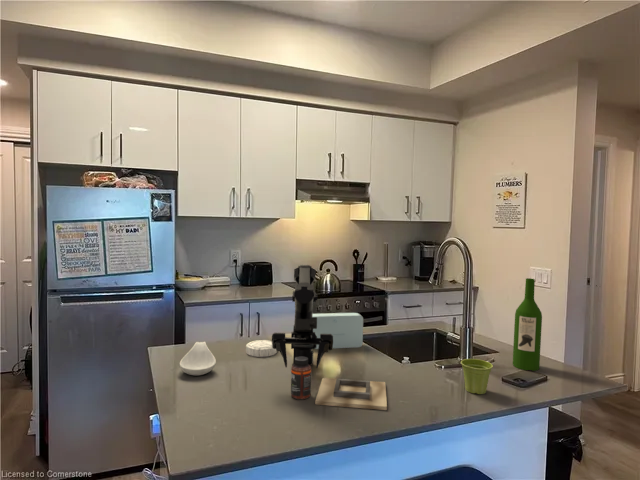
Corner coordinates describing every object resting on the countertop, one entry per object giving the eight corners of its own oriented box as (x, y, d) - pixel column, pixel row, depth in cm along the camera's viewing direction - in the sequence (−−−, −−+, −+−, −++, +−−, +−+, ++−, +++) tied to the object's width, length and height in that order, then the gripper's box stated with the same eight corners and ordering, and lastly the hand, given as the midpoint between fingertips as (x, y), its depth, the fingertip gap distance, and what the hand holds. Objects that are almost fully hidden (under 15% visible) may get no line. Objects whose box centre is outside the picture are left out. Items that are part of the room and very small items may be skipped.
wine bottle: (513, 368, 155) (517, 279, 154) (512, 361, 164) (516, 276, 162) (540, 372, 152) (545, 281, 150) (538, 364, 160) (542, 278, 159)
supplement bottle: (313, 393, 128) (314, 356, 128) (306, 401, 123) (307, 362, 122) (295, 390, 130) (296, 353, 130) (287, 398, 125) (288, 359, 124)
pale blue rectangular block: (307, 350, 171) (308, 317, 170) (304, 345, 176) (305, 313, 176) (363, 347, 176) (364, 315, 175) (358, 343, 182) (359, 312, 181)
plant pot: (476, 399, 128) (477, 370, 127) (453, 387, 136) (454, 360, 136) (498, 393, 132) (499, 366, 131) (474, 383, 140) (475, 357, 140)
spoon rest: (215, 378, 139) (215, 356, 139) (177, 380, 136) (177, 358, 136) (216, 355, 162) (216, 336, 162) (183, 356, 159) (184, 337, 159)
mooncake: (266, 359, 159) (266, 349, 159) (239, 354, 164) (239, 345, 164) (282, 350, 170) (282, 341, 170) (257, 346, 175) (257, 337, 175)
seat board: (315, 404, 121) (315, 395, 121) (322, 380, 139) (322, 373, 139) (386, 410, 119) (387, 401, 118) (385, 385, 136) (385, 377, 136)
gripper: (272, 306, 131) (268, 353, 121) (333, 308, 132) (334, 354, 121) (274, 325, 140) (270, 371, 129) (331, 327, 140) (332, 372, 129)
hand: (301, 367), depth 127 cm, fingers open, 9 cm apart
